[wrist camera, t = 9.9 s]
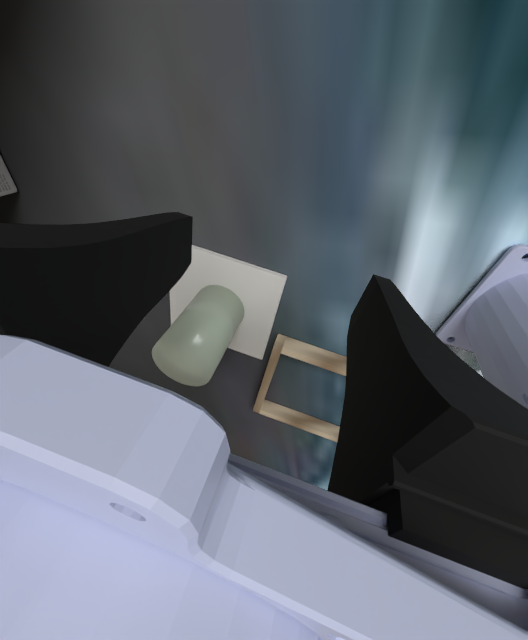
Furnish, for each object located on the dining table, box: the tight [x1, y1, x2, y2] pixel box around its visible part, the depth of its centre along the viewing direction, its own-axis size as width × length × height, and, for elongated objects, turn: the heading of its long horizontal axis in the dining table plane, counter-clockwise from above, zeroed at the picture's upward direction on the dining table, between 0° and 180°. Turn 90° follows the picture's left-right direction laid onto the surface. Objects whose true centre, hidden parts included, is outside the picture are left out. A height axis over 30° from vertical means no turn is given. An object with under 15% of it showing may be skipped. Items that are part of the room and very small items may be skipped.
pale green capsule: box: [152, 285, 245, 386], centre depth 23 cm, size 6×5×7 cm
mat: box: [170, 245, 287, 360], centre depth 26 cm, size 10×10×1 cm
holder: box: [253, 334, 347, 442], centre depth 29 cm, size 12×12×2 cm
